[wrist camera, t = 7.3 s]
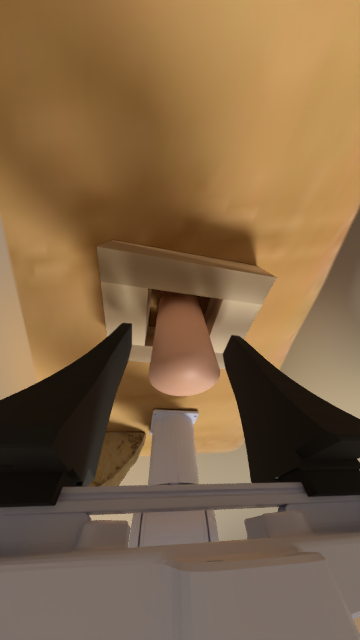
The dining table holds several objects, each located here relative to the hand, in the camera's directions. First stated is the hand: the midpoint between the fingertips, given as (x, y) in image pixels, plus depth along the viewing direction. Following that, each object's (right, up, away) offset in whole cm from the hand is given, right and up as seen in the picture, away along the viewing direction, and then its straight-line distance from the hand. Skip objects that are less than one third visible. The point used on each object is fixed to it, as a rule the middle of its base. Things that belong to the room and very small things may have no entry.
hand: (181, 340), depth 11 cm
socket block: (0, +3, +4) cm, 5 cm away
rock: (-13, -22, +21) cm, 33 cm away
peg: (0, +3, +4) cm, 5 cm away
